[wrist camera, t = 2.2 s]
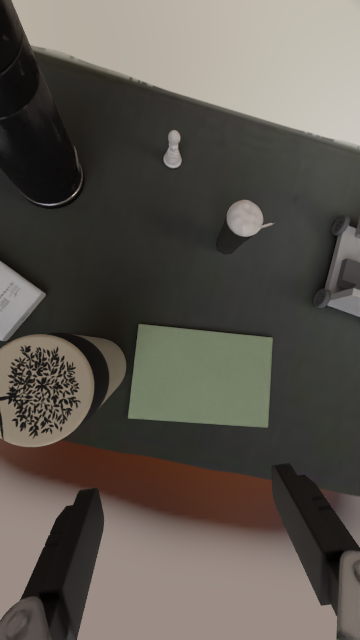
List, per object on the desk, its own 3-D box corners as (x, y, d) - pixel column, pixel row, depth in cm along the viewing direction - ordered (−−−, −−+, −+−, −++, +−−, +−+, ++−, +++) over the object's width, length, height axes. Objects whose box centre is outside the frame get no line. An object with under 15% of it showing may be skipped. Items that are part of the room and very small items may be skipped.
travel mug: (125, 336, 35) (95, 327, 17) (127, 393, 34) (98, 445, 17) (67, 339, 34) (-28, 333, 16) (68, 398, 34) (-31, 458, 16)
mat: (128, 417, 34) (127, 418, 34) (138, 324, 36) (138, 323, 35) (266, 426, 36) (268, 427, 35) (271, 337, 37) (272, 337, 37)
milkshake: (236, 267, 38) (265, 239, 28) (206, 249, 38) (225, 215, 28) (249, 242, 39) (282, 207, 29) (220, 225, 38) (242, 183, 28)
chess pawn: (166, 170, 38) (168, 144, 33) (161, 154, 39) (162, 126, 34) (183, 166, 39) (188, 140, 34) (178, 150, 39) (181, 122, 34)
